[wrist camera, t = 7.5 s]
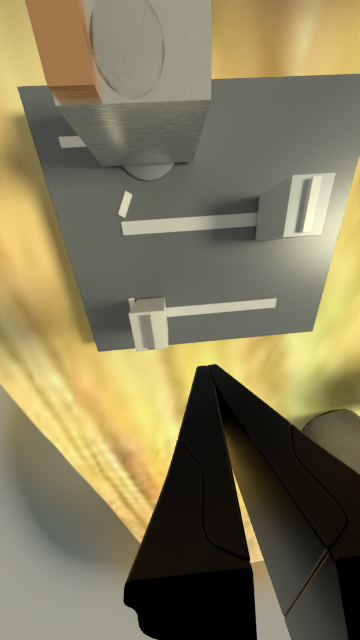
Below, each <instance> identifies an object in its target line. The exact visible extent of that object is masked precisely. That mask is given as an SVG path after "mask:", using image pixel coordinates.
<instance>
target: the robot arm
mask: <svg viewBox="0 0 360 640" xmlns="http://www.w3.org/2000/svg"><path fill="white" fill-rule="evenodd" d="M231 466H232V467H231ZM232 469H233V472H234V475H235V478H236V480H237V483H238V486H239V489H240V492H241V495H242V498H243V501H244V504H245V506H246V509H247V512H248V515H249V518H250V521H251V524H252V527H253V530H254V532H255V535H256V538H257V541H258V544H259V547H260V550H261V553H262V556H263V558H264V561H265V564H266V567H267V570H268V573H269V576H270V579H271V581H272V584H273V587H274V590H275V593H276V596H277V599H278V602H279V605H280V608H281V610H282V613H283V615H284V616H285V622H286V625H287V628H288V631H289V634H290V637H291V640H360V474H359V473H358V472H357V471H355V470H354V469H352V468H351V467H349V466H348V465H347V464H345V463H344V462H342V461H341V460H340V459H338V458H337V457H335V456H334V455H333V454H331V453H330V452H328V451H327V450H326V449H324V448H323V447H322V446H320V445H319V444H318V443H316V442H315V441H314V440H312V439H311V438H310V437H308V436H307V435H306V434H305V433H303V432H302V431H301V430H299V429H298V428H297V427H296V426H294V425H293V424H292V425H291V423H290V422H289V421H288V420H287V419H285V418H284V417H283V416H281V415H280V414H279V413H278V412H276V411H275V410H274V409H273V408H271V407H270V406H269V405H267V404H266V403H265V402H264V401H262V400H261V399H260V398H259V397H257V396H256V395H255V394H253V393H252V392H251V391H250V390H248V389H247V388H246V387H245V386H243V385H242V384H241V383H240V382H238V381H237V380H236V379H234V378H233V377H232V376H231V375H229V374H228V373H227V372H226V371H224V370H223V369H222V368H220V367H219V366H218V365H216V364H213V365H208V366H198V367H197V369H196V372H195V376H194V380H193V383H192V387H191V391H190V395H189V398H188V402H187V406H186V410H185V413H184V417H183V421H182V424H181V428H180V432H179V436H178V440H177V443H176V446H175V450H174V454H173V457H172V460H171V463H170V467H169V470H168V473H167V476H166V479H165V482H164V485H163V487H162V490H161V493H160V496H159V499H158V501H157V504H156V506H155V509H154V511H153V514H152V517H151V519H150V522H149V524H148V527H147V529H146V532H145V535H144V537H143V540H142V542H141V545H140V547H139V550H138V553H137V555H136V558H135V560H134V563H133V565H132V568H131V571H130V573H129V576H128V578H127V581H126V583H125V586H124V604H125V605H126V606H128V607H130V608H132V609H134V610H135V611H136V613H137V615H138V622H139V627H140V629H141V631H142V632H143V633H144V634H146V635H147V636H149V637H151V638H154V639H157V640H257V632H256V615H255V598H254V582H253V571H252V567H251V564H250V556H249V551H248V546H247V541H246V536H245V531H244V526H243V521H242V516H241V511H240V507H239V502H238V497H237V492H236V487H235V482H234V477H233V472H232Z"/></svg>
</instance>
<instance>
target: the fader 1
mask: <svg viewBox="0 0 360 640" xmlns="http://www.w3.org/2000/svg"><path fill="white" fill-rule="evenodd" d="M129 318H130V323H131V328H132V333H133V338H134V343H135V348H136V351H144V350H154V349H164V348H168V323H167V313H166V304H165V297H163V298H151V299H140V300H137V301H136V303H135V304H134V306H133V307H132V309H131V311H130V312H129Z"/></svg>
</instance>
